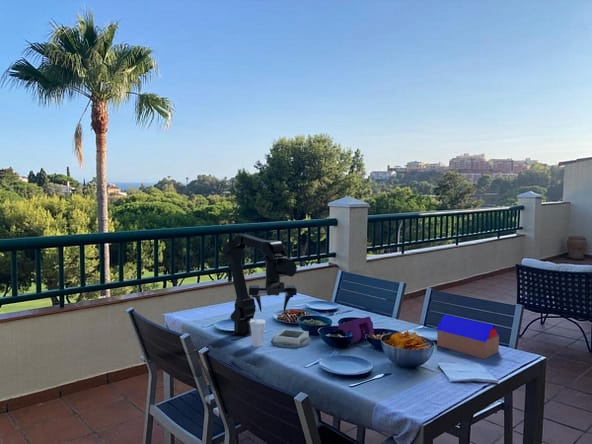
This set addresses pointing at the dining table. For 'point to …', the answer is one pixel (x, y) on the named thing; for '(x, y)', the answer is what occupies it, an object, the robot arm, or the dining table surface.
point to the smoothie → (257, 330)
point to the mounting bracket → (358, 328)
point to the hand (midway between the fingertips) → (272, 311)
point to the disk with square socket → (291, 338)
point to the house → (468, 336)
